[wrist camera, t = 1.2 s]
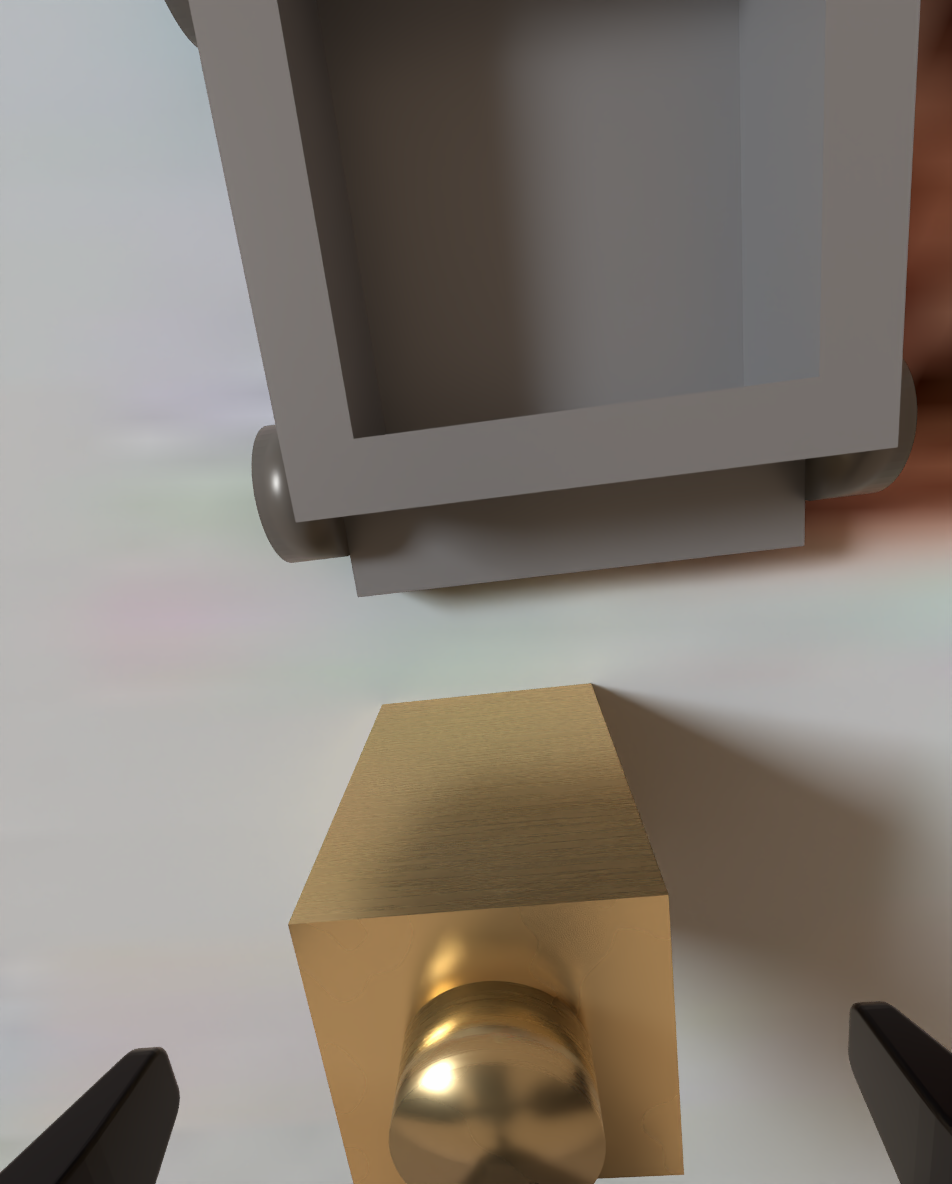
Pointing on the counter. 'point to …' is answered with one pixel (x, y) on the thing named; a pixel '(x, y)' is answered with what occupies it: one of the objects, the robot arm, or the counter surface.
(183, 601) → the counter surface
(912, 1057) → the robot arm
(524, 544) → the chassis
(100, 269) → the counter surface
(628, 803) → the brass knobbed block
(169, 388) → the counter surface
